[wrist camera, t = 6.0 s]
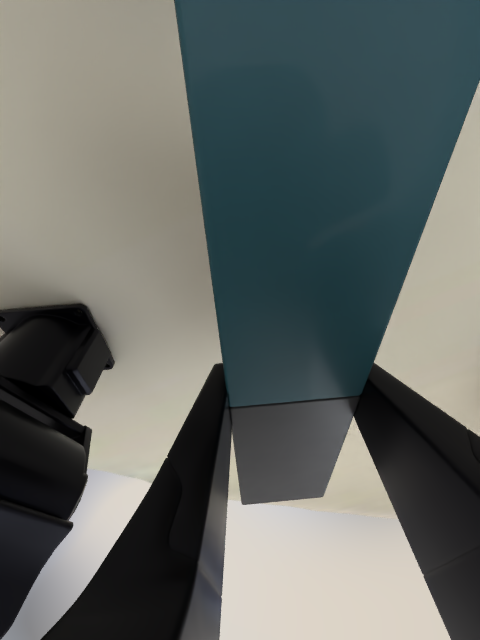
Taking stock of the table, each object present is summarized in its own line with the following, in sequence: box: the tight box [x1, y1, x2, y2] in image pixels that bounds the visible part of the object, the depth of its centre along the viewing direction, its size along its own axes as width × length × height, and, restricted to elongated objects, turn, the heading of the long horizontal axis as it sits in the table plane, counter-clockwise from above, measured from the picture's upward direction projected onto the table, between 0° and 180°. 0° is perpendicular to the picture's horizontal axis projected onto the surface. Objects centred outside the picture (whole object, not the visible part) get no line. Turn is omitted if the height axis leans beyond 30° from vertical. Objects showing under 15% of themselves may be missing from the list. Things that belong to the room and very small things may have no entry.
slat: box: [174, 0, 480, 505], centre depth 9 cm, size 16×4×2 cm, turn 3°
